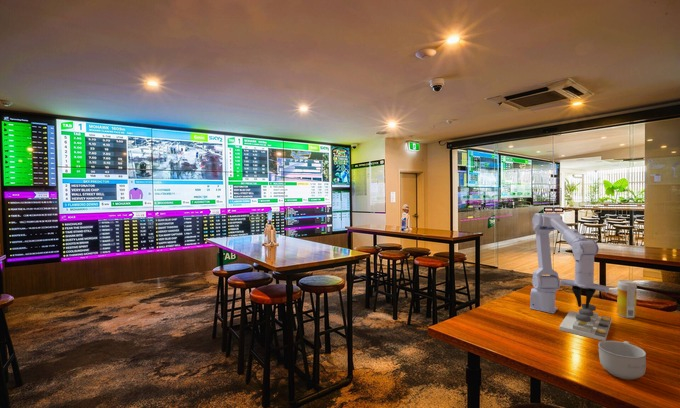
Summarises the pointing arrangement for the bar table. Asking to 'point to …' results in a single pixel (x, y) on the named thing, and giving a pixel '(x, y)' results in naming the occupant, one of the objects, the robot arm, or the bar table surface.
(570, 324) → the board
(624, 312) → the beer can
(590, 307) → the button
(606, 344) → the light grey bowl
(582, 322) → the button
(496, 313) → the bar table surface
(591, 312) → the button
